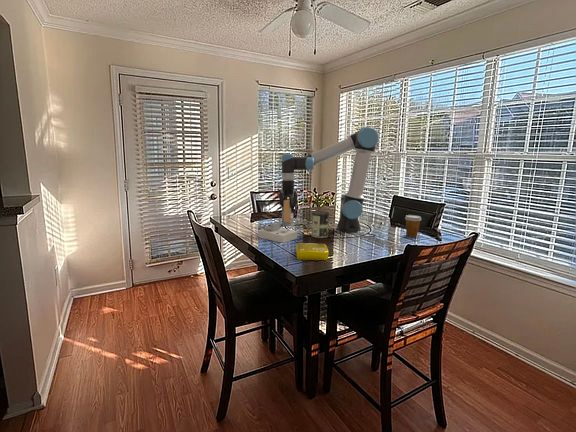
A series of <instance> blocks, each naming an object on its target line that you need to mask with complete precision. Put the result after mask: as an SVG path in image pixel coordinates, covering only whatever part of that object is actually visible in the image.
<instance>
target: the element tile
mask: <svg viewBox="0 0 576 432" xmlns="http://www.w3.org/2000/svg"><path fill="white" fill-rule="evenodd" d="M295 245H296V246H295V247H296V249H295V252H296V259H297V260H300V261H301V260H303V261H304V260H305V261H306V260H307V261H309V260H310V261H326V260H329V249H328V247H327V245H326V243H318V242H317V243H313V242H312V243H311V242H309V243H307V242H302V243H301V242H297V243H296V244H295Z"/></svg>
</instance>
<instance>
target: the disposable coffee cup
mask: <svg viewBox="0 0 576 432" xmlns="http://www.w3.org/2000/svg"><path fill="white" fill-rule="evenodd" d="M404 219H405V233H406V236H407V237H411V238H412V237H413V238H416V237H418V233H419V229H420V226H421V221H422V217H421V216H420V215H414V214H408V215H407V214H406V215H405V217H404Z"/></svg>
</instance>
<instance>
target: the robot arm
mask: <svg viewBox="0 0 576 432" xmlns="http://www.w3.org/2000/svg"><path fill="white" fill-rule="evenodd" d="M379 139H380V135H379V132H378V130H377V129H376V128H374V127H372V126H363V127H362V128H360V129H359V130H357V131H356V132H353V134H350V135H349V136H348V137H347V138H345V139H342V140H341V141H338V142H336V143H333V144H331V145H328V146H326V147H323V148H321V149H319V150H317V151H314V152H311V153H310V154H307V155H304V156H301V157H299V156H298V157H296V156H295V154H294V153H283V154H282V155H281V186H282V188H281V189H278V194H279V195H278V197H279V206H280V207H281V208H282V207H283V212H284V200H290V206H291V207H290V219H291V218H293V219H294V213H295V211H294V210H295V207H296V208H297V207H298V194H299V190H296V189H295V170H297V171H312V170H315V166H316V165H318V164H322V163H323V162H326V161H328V160H330V159H333V158H336V157H338V156H340V155H342V154H345V153H349V152H350V151H355V158H354V160H353V161H354V162H353V167H352V172H351V177H350V182H349V186H348V191H347V192H346V193H344V194H342V195H341V196H340V211H339V213H340V214H339V220H338V223H337V224H336V230H337V231H340V232H346V233H357V232H360V231H361V223H360V220H359V218H360V217H361V216H362V214H363V211H364V208H363V205H364V200H365V197H364V195H363V194H364V189H365V185H366V184H365V183H366V179H367V175H368V171H369V170H368V169H369V166H370V161H371V159H372V158H371V157H372V155H373V154H374V153H375V151H376V147H377V144H378V142H379Z"/></svg>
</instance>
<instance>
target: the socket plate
mask: <svg viewBox="0 0 576 432" xmlns="http://www.w3.org/2000/svg"><path fill="white" fill-rule="evenodd" d="M298 233H299V232H298V230H294V229H289V228H288V229H287V228H284V227H280V229H279V230H275V231H269V230H264V228H263V229H260V230H258V238H260V239H263V240H267V241H269V240H270V241H273V242H277V243H281V244H284V243H287V242H290V241H293V240H296V239H298V237H299V235H298Z"/></svg>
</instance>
